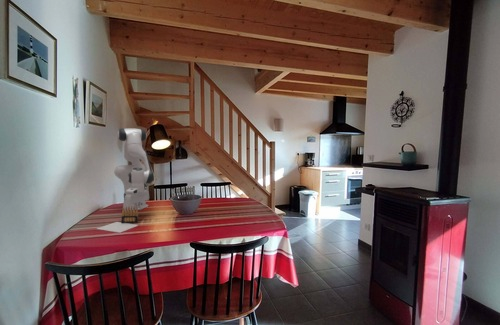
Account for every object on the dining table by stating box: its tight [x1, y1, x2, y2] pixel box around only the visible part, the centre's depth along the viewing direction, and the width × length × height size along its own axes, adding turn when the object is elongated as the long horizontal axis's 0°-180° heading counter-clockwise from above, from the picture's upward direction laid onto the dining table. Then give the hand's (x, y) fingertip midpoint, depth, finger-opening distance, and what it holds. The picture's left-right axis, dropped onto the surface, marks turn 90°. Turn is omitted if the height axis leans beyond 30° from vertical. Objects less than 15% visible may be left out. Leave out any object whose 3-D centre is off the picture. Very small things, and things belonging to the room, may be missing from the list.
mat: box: [96, 221, 140, 234], centre depth 162 cm, size 16×20×1 cm
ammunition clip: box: [120, 205, 139, 224], centre depth 172 cm, size 11×2×12 cm, turn 104°
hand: (138, 207), depth 179 cm, fingers closed
